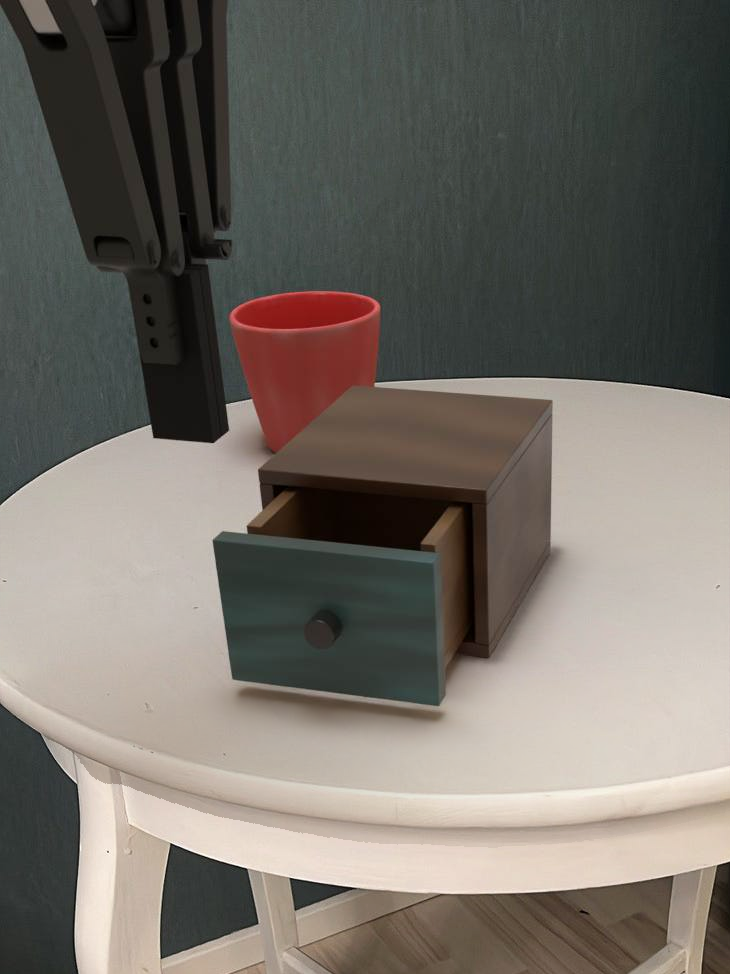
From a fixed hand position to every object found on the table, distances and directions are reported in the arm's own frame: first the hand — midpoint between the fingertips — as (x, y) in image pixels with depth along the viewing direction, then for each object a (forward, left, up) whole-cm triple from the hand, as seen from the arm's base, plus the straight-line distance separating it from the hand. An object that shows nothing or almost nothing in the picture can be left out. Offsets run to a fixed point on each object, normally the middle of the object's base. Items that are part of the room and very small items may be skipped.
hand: (191, 433), depth 56 cm
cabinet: (-8, +19, -16) cm, 27 cm away
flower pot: (-33, +31, -17) cm, 49 cm away
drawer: (-4, +12, -16) cm, 20 cm away
